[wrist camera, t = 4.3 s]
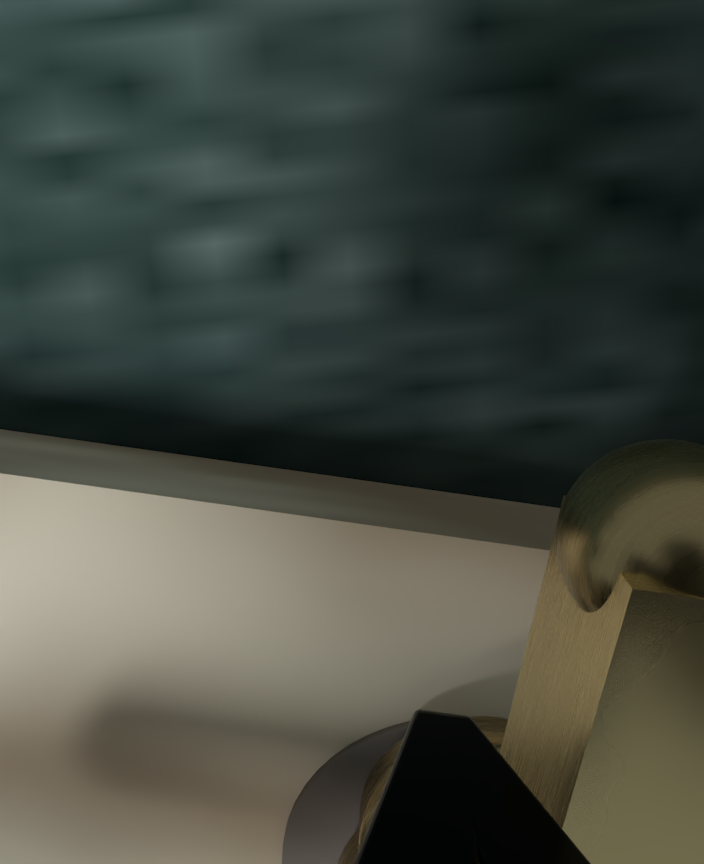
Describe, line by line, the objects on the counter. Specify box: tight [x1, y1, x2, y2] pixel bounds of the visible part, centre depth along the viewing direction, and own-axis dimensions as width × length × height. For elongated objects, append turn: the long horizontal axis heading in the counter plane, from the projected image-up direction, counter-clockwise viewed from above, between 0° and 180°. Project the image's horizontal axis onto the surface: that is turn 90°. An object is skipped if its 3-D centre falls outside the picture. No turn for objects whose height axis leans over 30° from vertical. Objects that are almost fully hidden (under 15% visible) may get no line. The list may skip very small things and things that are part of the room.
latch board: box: [0, 429, 560, 864], centre depth 12 cm, size 13×24×4 cm, turn 82°
